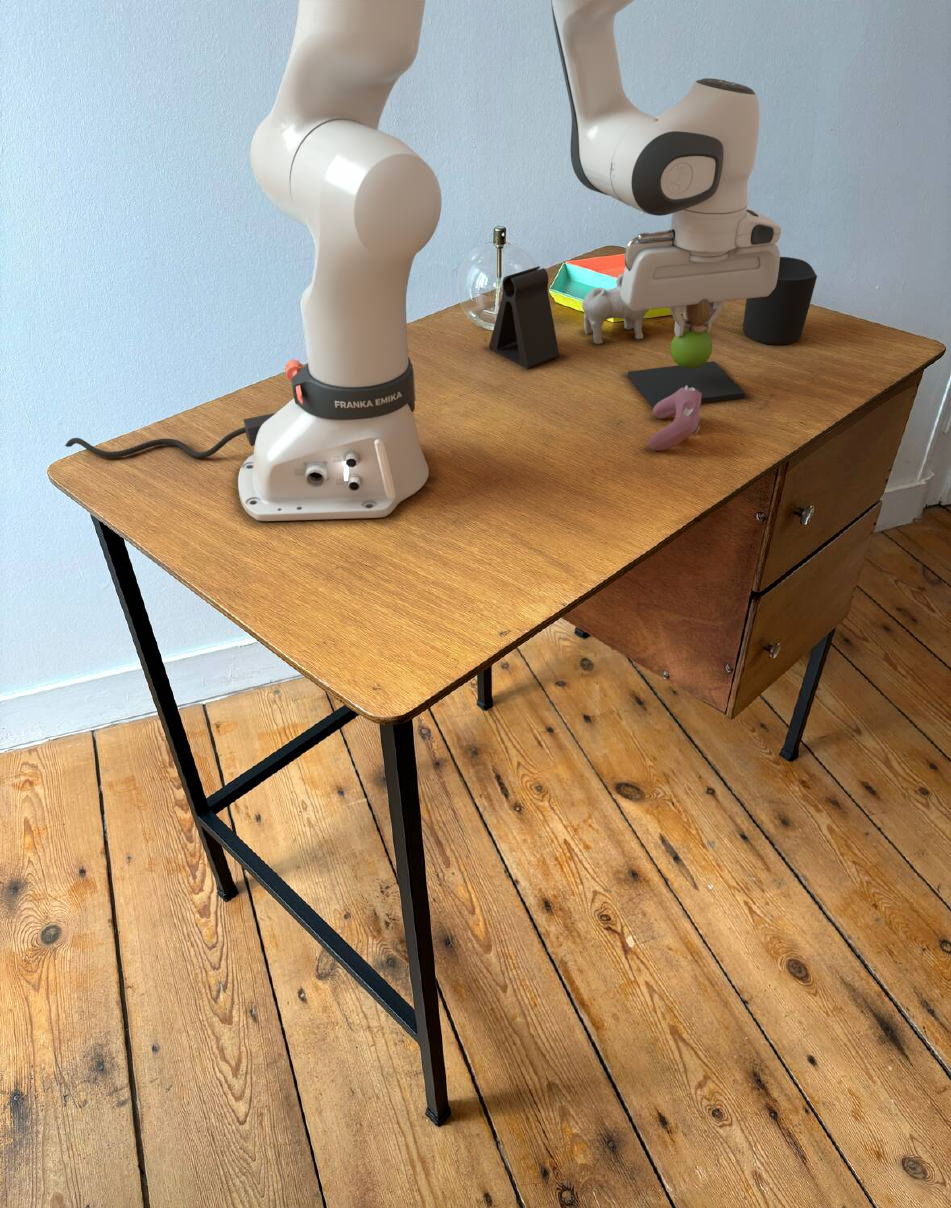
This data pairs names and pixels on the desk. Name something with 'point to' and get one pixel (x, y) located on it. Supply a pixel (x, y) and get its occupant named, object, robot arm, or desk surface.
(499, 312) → the phone stand
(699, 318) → the snail figurine
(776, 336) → the pen holder
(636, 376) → the mat
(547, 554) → the desk surface
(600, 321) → the dog figurine
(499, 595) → the desk surface
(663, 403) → the video game controller
